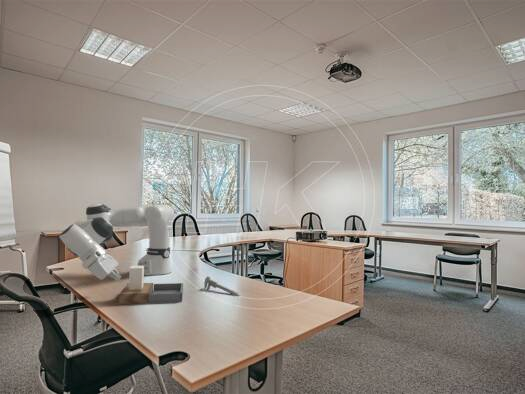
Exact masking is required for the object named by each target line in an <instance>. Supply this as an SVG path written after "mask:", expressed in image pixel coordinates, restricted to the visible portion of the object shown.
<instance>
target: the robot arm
mask: <svg viewBox="0 0 525 394" xmlns="http://www.w3.org/2000/svg"><path fill="white" fill-rule="evenodd" d="M111 210H112V208H110V207H108V206H107V205H106V204H103V203H94V204H91V205H89V206H87V207H86V209H85V215H86V219H79V220H77V221H75V222H74V223H72V224H70V225H69V226H68V227H67V228H65V230H63V231H62V232H61V233H60V234H59V236H58V237H59V239H60V240H61V241H62V243H63V244H64V245H65V247H66V248H67V249H68V251H69V252H70V253H71V254H73V255H74V256H75V257H78V258H79V260H80V261H82V265H81V266H82V268H84V269H86V270H87V269H88V271H89V272H90V274H91V273H92V275H93V276H95V277H96V278H97V279H99V280H101V281H102V280H104V279H105V278H107V277H110V278H112V279H114V280H115V281H116V282H119V281H120V280H121V278H122V275H120V274H119V272H118V270H117V269H116V268H117V267H119V265H120V264H119V262H118V261H117V260H116V259H115V258H114V257H112V256H111V255H110V254H109V253H107V250H106V249H105V248H104V247H102V245H100V244H105V243H107V242H108V241H111V239H113V233H114V228H131V227H132V228H133V227H140V226H147V229H148V234H149V239H148V240H149V242H148V245H149V246H148V248H146V249H145V251H146V254H145V255H143V256H142V257H141V258H140V259H138V262H137V265H136V266H144V276H152V275H153V276H159V275H160V276H161V275H166V274H170V273H172V267H171V259H170V258H171V257H170V254H171V247H170V241H171V240H170V238H171V237H170V236H171V235H170V232H169V228H168V223H169V222H170V221H172V219H173V218H175V217H174V216H175V210H174V208H173V207H172V206H170V205H169V204H164V203H163V204H162V203H161V204H152V205H142V206H135V207H134V206H132V207H124V208H123V207H122V208H119V209H115V210H112V211H111Z"/></svg>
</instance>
